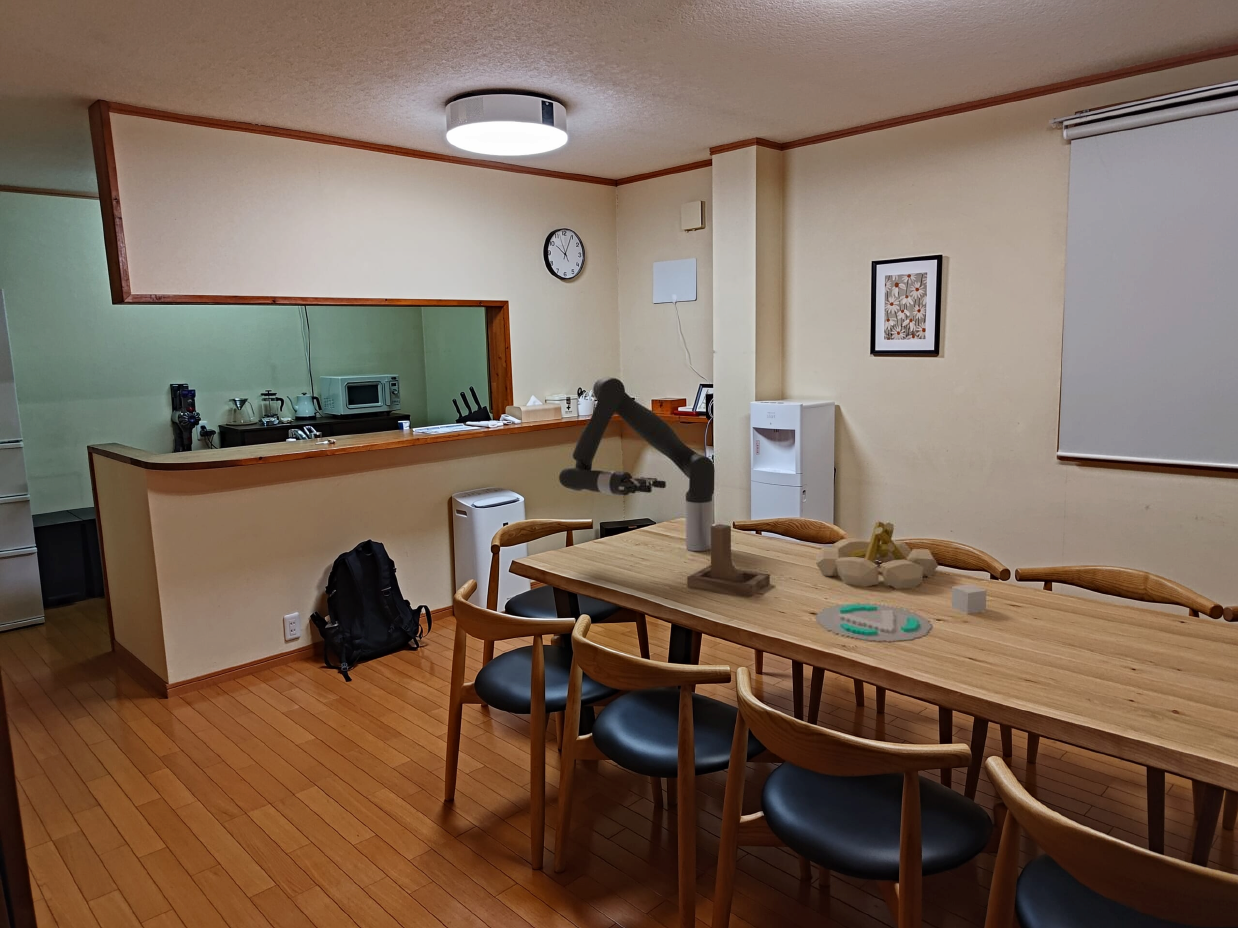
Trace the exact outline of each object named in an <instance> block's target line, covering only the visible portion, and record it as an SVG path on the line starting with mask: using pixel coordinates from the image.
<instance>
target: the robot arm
mask: <svg viewBox="0 0 1238 928" xmlns="http://www.w3.org/2000/svg"><path fill="white" fill-rule="evenodd" d="M592 391H593V395H594V398H595V399H596V404H595V408H594V411H593V413H592V415H591V417H590V419H589V420H588V422H587V424H586V425H585V427H584V429H583V430H582V431H581V434H580V436H579V438H578V440H577V442H576V444H575V448H574V450H573V453H572V458H573V460H574V461H575V467H574V466H567V467H565V468H563V469H562V470H561V471H560V473H559V475H558V481H559V483H560V484H561V486H562V487H564V488H566V489H570V490H572V491H575V492H580V491H583V490H585V491H590V492H593V493H594V492H595V493H603V494H607V495H615V496H616V495H617V496H623V497H624V496H628V495H630V494H636V493H645V494H646V493H648V494H649V493H652V491H653V489H654V488H659V489H665V488H666V487H667V485H666V484H667V482H666V481H665V480H658V478H656V477H646V476H645V477H643V476H640V477H633V476H632V475H631V473H630V472H627V471H618V470H617V471H616V470H594V469H593V470H592V468H593V460H594V459H595V456H596V454H597V452H598V449H599V446H600V444H601V441H602V438H603V436H604V434H605V432H606V430H607V428H608V426H609V423H610V421H611V419H612V418H613V416H614V414H616V415H618V417H620V418H621V419H622V420H623V421H624V422H625V423H626V424H627V425H628V426H629V427H630V428H631V429H632V430H633V431H634V432H635V433H636V434H637V435H639V437H641V439H642V440H644V441H645V442H646V443H648V444H649V445H650V446H651V447H653V448H654V449H655V450H657V451H658V452H660V453H661V454H662V455H664V456H666V457H667V458H668V459H669V460H670V461H671V462H672V463H673V464H674V465H675V466H677V468H678V469H679V470H680V471H681V472H682V473H683V474H684V475H685V477H686V478H688V479H689V482H688V483H689V485H688V491H686V493H685V546H686V547H685V548H686V550H688V551H692V552H706V551H711V526H714V525H713V524H714V522H713V496H714V493H715V478H716V477H715V475H716V472H715V464H714V462H713V460H712V459H711V458H710V457H708V456H705V455H703V454H699V453H698V452H696V451H694V450H693V449H692V448H691V447H689V446H687V445H686V444H685V443H684V442H683V441H682V440H681V439H680V438H679V436H678V435H677V434H676V432H675V430H674V429H673V428H672V427H671V426H670V425H669V424H668V423H667V422H666V421H664V419H662V418H661V417H660V416H659V415H658V414H656V413H655V412H654V411H653V410H651V409H649V408H648V407H645V406H644V405H642V404H641V403H639V402H637V401H636V400H635V399H633V398H632V397H631V396H630V395H629V394H628V393H627V392H626V388H625V386H624V383H623V381H621V380H620V379H619V378H616V377H611V376H610V377H609V376H603V377H601V378H599V379H597V380H596V381H595V383H594V385H593V389H592ZM652 488H653V489H652Z"/></svg>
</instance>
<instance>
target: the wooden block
mask: <svg viewBox="0 0 1238 928" xmlns="http://www.w3.org/2000/svg"><path fill="white" fill-rule="evenodd" d="M710 565H711V578H713V579H719V580H725V581H731V582H738V583H744V582H743V572H741V571H738V570H736V569H737V568H736V567H735V566H734V565H733V562H732V526H731V525H727V524H722V523H718V524H715V525H713V526H711V550H710Z"/></svg>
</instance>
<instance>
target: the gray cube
mask: <svg viewBox="0 0 1238 928" xmlns="http://www.w3.org/2000/svg"><path fill="white" fill-rule="evenodd" d="M986 606H987V589H984V588H981V587H978V586H976V585H974V584H972V583H971V584H970V583H968V584H961V585H954V586H952V588H951V605H950V607H953V608H955V609H954V610H956V609H958V610H960V611H962V612H964V613H963V614H965V613H967V614H968V615H970V614H969V613H974V614H977V613H976V612H981V613H984V612H983V611H987V610H986V608H987V607H986ZM953 608H952V609H953ZM958 610H957V611H958ZM960 611H959V612H960ZM962 612H961V613H962ZM967 614H966V615H967Z"/></svg>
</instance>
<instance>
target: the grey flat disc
mask: <svg viewBox="0 0 1238 928" xmlns="http://www.w3.org/2000/svg"><path fill="white" fill-rule="evenodd" d="M814 618H815V622H816V623H817V624H818V625H819V626H821V627H822V628H823V629H824V630H826V631H827V632H831V633H833V634H834V635H839V634H840V635H841V637H845V636H846V637H845V638H850V639H854V638H855V639H854V640H859V641H861V639H863V640H862V641H864V640H866V641H867V640H868V641H867V642H876V643H881V642H880V641H883V642H886V641H887V642H886V643H892V642H891V641H897V642H904V641H903V640H907V641H914V639H921V637H926V636H927V635H928V634H929V633H930V631H931V630H932V628H931V627H933V628H934V626H933V624H932V623H931V622H930V620H929V619H928V618H927V617H924V616H923V615H920V614H919V613H917V612H916V611H911V610H909V609H907V608H906V609H905V608H903V607H898V606H890V605H885V604H881V603H880V604H878V603H870V602H868V603H867V602H865V603H861V602H856V603H846V604H845V603H844V604H836V605H832V606H828V607H824V608H823V609H821V611H819V612H818V613H817V614H815V617H814ZM929 630H930V631H929ZM925 634H927V635H925ZM840 635H839V636H840Z"/></svg>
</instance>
